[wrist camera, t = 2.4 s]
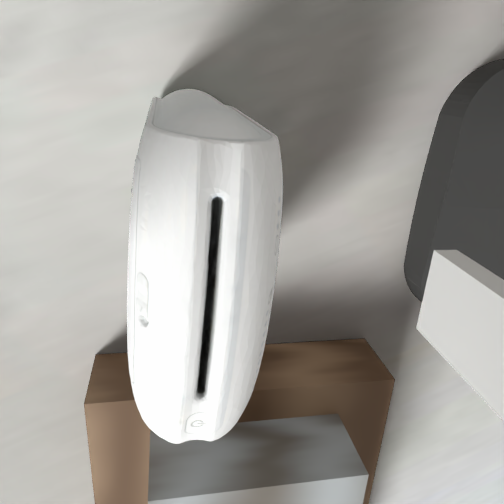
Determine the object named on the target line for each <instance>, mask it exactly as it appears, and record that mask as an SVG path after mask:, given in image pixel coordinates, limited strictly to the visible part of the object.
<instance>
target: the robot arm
mask: <svg viewBox="0 0 504 504" xmlns="http://www.w3.org/2000/svg"><path fill="white" fill-rule="evenodd" d="M416 329H417V330H418V331H419V332H420V333H421V334H422V335H423V336H424V337H425V338H426V340H427V341H428V342H429V343H430V344H431V345H432V346H433V347H434V348H435V349H436V350H437V351H438V352H439V353H440V354H441V356H442V357H443V358H444V359H445V360H446V361H447V362H448V363H449V364H450V365H451V366H452V367H453V368H454V369H455V371H456V372H457V373H458V374H459V375H460V376H461V377H462V378H463V379H464V380H465V381H466V382H467V383H468V384H469V385H470V387H471V388H472V389H473V390H474V391H475V392H476V393H477V394H478V395H479V396H480V397H481V398H482V399H483V400H484V401H485V403H486V404H487V405H488V406H489V407H490V408H491V409H492V410H493V411H494V412H495V413H496V414H497V415H498V416H499V418H500V419H501V420H502V421H503V422H504V280H503V279H502V278H500V277H498V276H497V275H495V274H494V273H492V272H491V271H489V270H488V269H486V268H484V267H483V266H481V265H480V264H478V263H477V262H475V261H473V260H472V259H470V258H469V257H467V256H466V255H464V254H463V253H461V252H459V251H458V250H434V252H433V256H432V260H431V265H430V269H429V274H428V278H427V283H426V287H425V291H424V296H423V300H422V305H421V309H420V313H419V318H418V322H417V327H416Z"/></svg>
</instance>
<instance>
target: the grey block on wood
mask: <svg viewBox="0 0 504 504" xmlns="http://www.w3.org/2000/svg"><path fill="white" fill-rule="evenodd" d="M394 382H395V379H394V378H393V376H392V375H391V373H390V372H389V371H388V369H387V368H386V367H385V365H384V364H383V363H382V361H381V360H380V359H379V357H378V356H377V355H376V353H375V352H374V351H373V349H372V348H371V347H370V345H369V344H368V342H367V341H366V340H365V339H349V340H332V341H315V342H298V343H281V344H265V348H264V352H263V356H262V360H261V365H260V369H259V373H258V376H257V380H256V383H255V386H254V390H253V392H252V395H251V397H250V399H249V402H248V404H247V406H246V408H245V410H244V411H243V413H242V415H241V417H240V418H239V420H238V422H237V423H236V424H235V425H234V427H233V428H232V429H231V430H230V431H229V432H228V433H227V434H225V435H224V436H222V437H221V438H219V439H217V440H214V441H205V440H189V441H185V442H182V443H180V444H174V443H171V442H168V441H166V440H165V439H163V438H161V437H159V436H158V435H157V434H155V433H154V432H153V431H152V430H151V429H150V428H149V427H148V426H147V425H146V423H145V422H144V421H143V419H142V417H141V414H140V412H139V410H138V408H137V405H136V402H135V398H134V395H133V390H132V385H131V378H130V374H129V364H128V353H113V354H96V356H95V360H94V364H93V368H92V373H91V377H90V381H89V385H88V390H87V394H86V398H85V402H84V408H85V417H86V426H87V435H88V444H89V453H90V463H91V472H92V481H93V490H94V499H95V504H368V503H369V498H370V494H371V489H372V484H373V480H374V475H375V470H376V466H377V461H378V456H379V452H380V447H381V443H382V438H383V433H384V429H385V424H386V419H387V415H388V410H389V405H390V401H391V396H392V391H393V387H394Z"/></svg>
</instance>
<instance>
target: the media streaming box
mask: <svg viewBox="0 0 504 504" xmlns="http://www.w3.org/2000/svg"><path fill="white" fill-rule="evenodd" d="M434 250H458V251H459V252H461V253H463V254H464V255H466V256H467V257H469V258H470V259H472V260H473V261H475V262H477V263H478V264H480V265H481V266H483V267H484V268H486V269H488V270H489V271H491V272H492V273H494V274H495V275H497V276H498V277H500V278H502V279H503V280H504V59H502V60H497V61H494V62H491V63H489V64H486V65H484V66H482V67H480V68H479V69H477V70H475V71H474V72H472V73H471V74H470V75H469V76H467V77H466V78H465V79H464V80H463V81H462V82H461V83H460V84H459V85H458V86H457V87H456V88H455V90H454V91H453V92H452V93H451V95H450V96H449V98H448V99H447V101H446V102H445V104H444V106H443V108H442V110H441V112H440V115H439V118H438V121H437V125H436V128H435V132H434V135H433V139H432V142H431V146H430V150H429V153H428V157H427V161H426V165H425V169H424V172H423V176H422V180H421V185H420V189H419V193H418V197H417V202H416V206H415V211H414V215H413V220H412V225H411V230H410V235H409V240H408V245H407V251H406V256H405V262H404V272H405V278H406V281H407V284H408V286H409V288H410V290H411V291H412V293H413V294H414V295H415V296H416V297H417V298H418V299H419V300H420V301H421V302H422V300H423V296H424V291H425V287H426V283H427V278H428V274H429V269H430V265H431V260H432V256H433V252H434Z"/></svg>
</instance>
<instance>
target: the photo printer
mask: <svg viewBox="0 0 504 504" xmlns="http://www.w3.org/2000/svg"><path fill="white" fill-rule="evenodd" d="M131 193H132V198H131V207H130V225H129V247H128V278H127V349H128V364H129V374H130V378H131V385H132V390H133V395H134V398H135V402H136V405H137V408H138V410H139V412H140V414H141V417H142V419H143V421H144V422H145V423H146V425H147V426H148V427H149V428H150V429H151V430H152V431H153V432H154V433H155V434H157V435H158V436H159V437H161V438H163V439H165V440H166V441H168V442H171V443H174V444H180V443H182V442H185V441H189V440H205V441H214V440H217V439H219V438H221V437H222V436H224V435H225V434H227V433H228V432H229V431H230V430H231V429H232V428H233V427H234V425H235V424H236V423H237V422H238V420H239V418H240V417H241V415H242V413H243V411H244V410H245V408H246V406H247V404H248V402H249V399H250V397H251V395H252V392H253V390H254V386H255V383H256V380H257V376H258V373H259V369H260V365H261V360H262V356H263V352H264V348H265V342H266V337H267V332H268V326H269V321H270V315H271V308H272V302H273V295H274V287H275V279H276V271H277V263H278V254H279V243H280V233H281V219H282V203H283V172H282V160H281V152H280V145H279V139H278V137H277V136H276V135H275V134H274V133H272V132H271V131H269V130H268V129H267V128H265V127H263V126H262V125H261V124H259V123H257V122H256V121H254V120H253V119H251V118H250V117H249V116H247V115H245V114H244V113H242V112H241V111H239V110H238V109H236V108H234V107H233V106H230V105H224V104H222V103H221V102H220V101H218V100H217V99H216V98H214V97H213V96H211V95H209V94H208V93H206V92H203V91H200V90H196V89H181V90H177V91H174V92H172V93H170V94H168V95H166V96H165V97H164V98H157V97H154V98H153V99H152V101H151V105H150V109H149V112H148V116H147V120H146V123H145V126H144V129H143V133H142V136H141V140H140V144H139V149H138V153H137V156H136V160H135V166H134V174H133V185H132V189H131Z"/></svg>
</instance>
